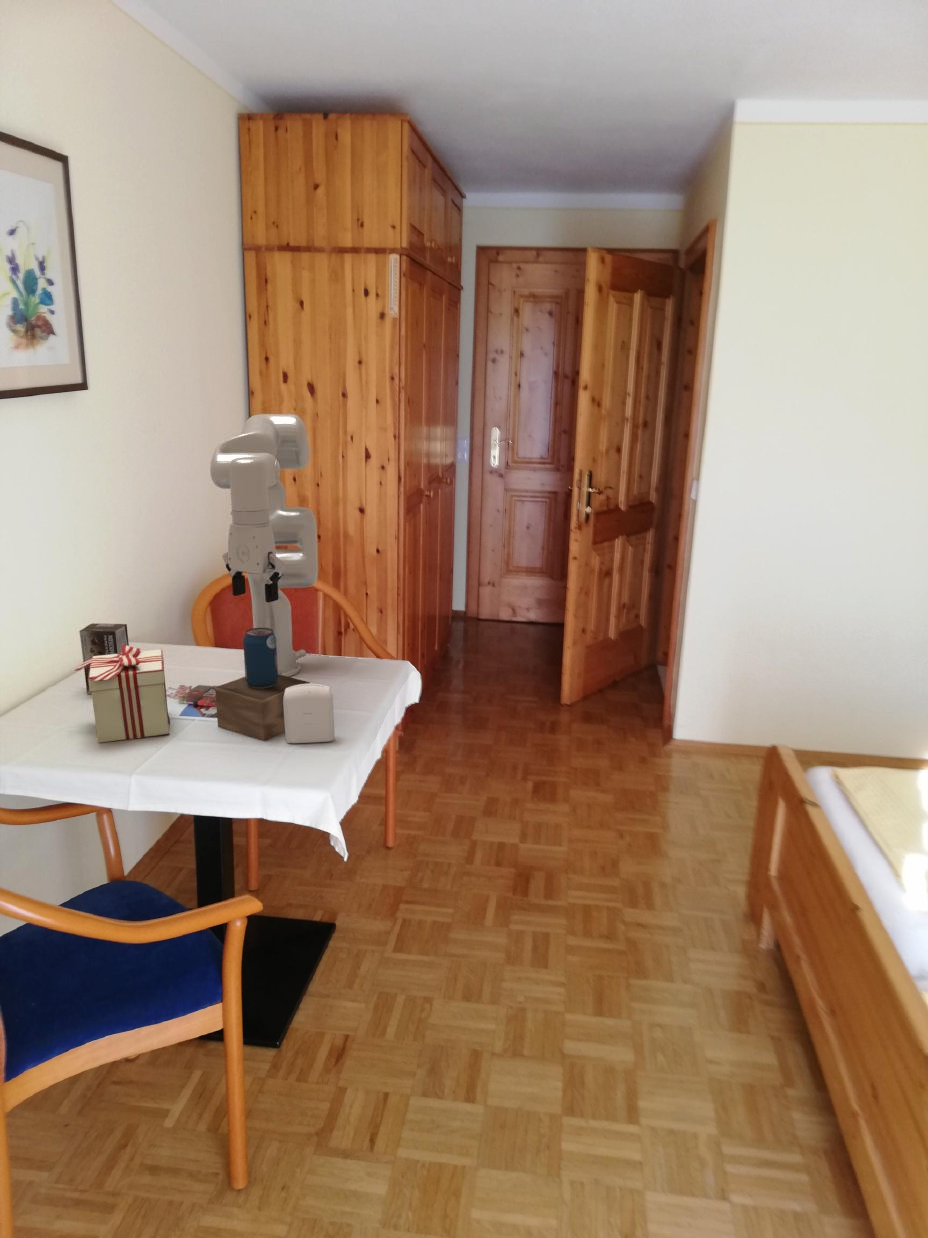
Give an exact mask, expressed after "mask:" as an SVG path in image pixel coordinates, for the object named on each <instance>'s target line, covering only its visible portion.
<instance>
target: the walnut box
mask: <svg viewBox="0 0 928 1238" xmlns="http://www.w3.org/2000/svg"><path fill="white" fill-rule="evenodd" d="M299 684H311V681H308V680H303V679H299V678H295V677H293V676H289V677H288V676H284V675H280V674H278V680H277V682H276V683H275V685H274V686H272V687H269V688H262V689H257V688H252V687H250V686H249V685H248V683H247V682H246V680H245V676H243V677H240V678H237V679H234V680H231V681H228V682H225V683H224V684H223V683H222V684H221V685H220V684H219V685H217V686H215V687H213V691H215V704H216V706H215V707H216V716H217V717H216V718H217V727H218V728H221V729H224V730H227V731H230V732H234V733H237V734H240V735H242V736H247V737H250V738H253V739H255V740H260V741H263V742H265V741H267V740H269V739H272V738H274V737H277V736H279V735H281V734H283V733H285V722H284V706H283V698H284V693H285V689H286V688H288V687H291V686H295V685H299Z"/></svg>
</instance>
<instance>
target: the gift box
mask: <svg viewBox="0 0 928 1238" xmlns="http://www.w3.org/2000/svg"><path fill="white" fill-rule="evenodd" d="M164 664H165V661H164V653H163V650H162V648H161V649H149V650H141V648H138V647H134V646H130V645H129V646H127V645H123V646H122V653H118V654H110V655H100V656H92V659H89V660H87V661H86V662H84V663H83V662H82V664H80V666H78V667H77V668H76V669H74V670H73V671H75V672H77V671H80V670H82V669H84V667H86V666H88V665H90V670H89V677H88V682H89V691H90V692H92V695H91V699H92V707H93V714H94V721H95V722H94V723H95V728H96V730H95V731H96V736H97V743H98V744H101V743H102V744H103V743H110V742H119V741H124V740H126V741H127V740H134V739H135V740H136V739H142V738H148V737H149V738H150V737H156V736H157V737H158V736H164V735H170V728H169V726H170V725H171V720H170V716H169V710H168V709H169V708H168V697H167V688H166V674H165V665H164Z"/></svg>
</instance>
